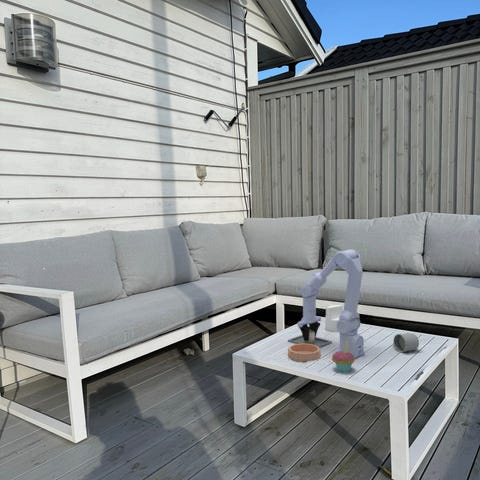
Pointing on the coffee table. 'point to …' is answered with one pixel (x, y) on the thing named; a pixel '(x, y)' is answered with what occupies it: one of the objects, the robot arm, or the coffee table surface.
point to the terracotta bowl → (303, 352)
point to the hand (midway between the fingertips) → (309, 339)
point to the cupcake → (343, 360)
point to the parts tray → (318, 342)
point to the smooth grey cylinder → (311, 337)
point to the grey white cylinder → (332, 317)
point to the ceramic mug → (405, 342)
